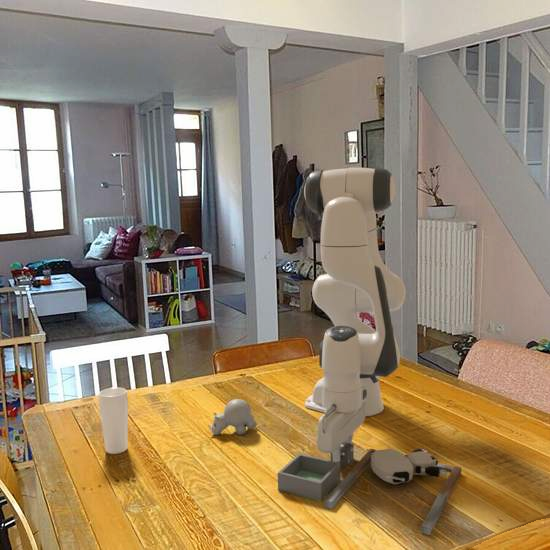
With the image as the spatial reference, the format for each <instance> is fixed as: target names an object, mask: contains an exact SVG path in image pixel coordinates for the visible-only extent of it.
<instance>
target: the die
mask: <svg viewBox="0 0 550 550" xmlns="http://www.w3.org/2000/svg"><path fill="white" fill-rule="evenodd" d="M354 449H355V448H354V443H351V444H350V443H346V442H343V443H342V444H341V448H340V452H342V459H341V460H340V462H339V463H340V467H342V468H348V467H349V466H351V464H352V462H354V459H355V457H354V455H355V454H354V453H355V452H354ZM330 461H333V456H332V454H330ZM334 462H336V461H334Z"/></svg>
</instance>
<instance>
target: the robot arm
mask: <svg viewBox="0 0 550 550" xmlns="http://www.w3.org/2000/svg"><path fill="white" fill-rule="evenodd" d="M303 188H304V189H303V195H304V199H305V202H306V206H307V208H309V210H310V211H311V212H312V213H314V214H316V215H317V217H318V218H320V219H321V227H320V258H321V265H322V268H323V270H324V271H325V273H324V274H320V275H318V277H317V278H316V279H315V280H314V283H313V285H312V289H311V292H312V293H311V295H312V298H313V302H314V303H315V305H316V306H317V307H318V308H319V309H321V310H322V312H324V313H325V314H326V315H327V316H328V318H329V319H330V321H331V322H332V324H333V326H332V327H329V328H327V329H326V330H325V333H324V336H323V339H322V341H321V342H320V343H319V348H318V350H319V352H318V354H319V357H318V360H319V362H318V363H319V364H318V365H319V367H320V368H321V370H322V373H323V377H322V378H320V379H319V380H317V382H316V383H315V385H314V386H313V391H312V392H313V393H312V394H311V395H310V396H308V397H307V399H305V402H304V406H305V408H307V409H310V410H314V411H317V412H320V413H323V415H321V416H320V418H319V420H318V423H317V430H316V434H317V435H316V448H317V450H318V451H319V452H321V453H325V454H330V455H331V454H332V456H333V461H336V462H340V460H341V459H342V452H340V448H341V444H342V443H343V442H346V443H350V444H353V438H354V436H355V435H354V434H355V432H356V430H358V428H360V427H361V426H362V425H363V424H364V421H365V420H366V417H371V416H375V415H378V414H380V413H382V412H383V410H384V409H385V407H384V404H383V403H384V402H383V400H382V395H381V389H380V379H381V377H382V378H383V377H384V378H387V377H388V376H390V375H391V374H393V373H394V372H395V371H397V369H398V368H399V364H400V359H401V355H400V347H399V344H398V342H397V338H396V335H395V332H394V327H393V321H392V313H391V312H396V311H399V309H401V307H402V306H403V305H404V303H405V300H406V295H407V292H406V286H405V283H404V281H403V280H402V279H401V278H400V276H398V275H397V274H396V273H394V272H392V271H391V270H390V269H389V268H388V267H387V265H386V264H385V262H384V261H383V259H382V257H381V254H380V252H379V251H380V250H379V245H378V244H379V243H378V234H377V233H378V230H377V215H376V213H378V212H382V211H383V212H384V211H386V210H387V209H389V208H390V207H391V206H392V203H393V200H394V198H395V195H396V183H395V180H394V177H393V175H392V173H391V171H389V170H388V169H385V168H381V167H375V168H371V167H370V168H369V167H348V168H347V167H346V168H335V169H328V170H324V169H321V170H316V171H312V172H311V173H310V174H309V175H308V176H307V177H306V181H305V184H304V187H303ZM357 313H371V314H372V313H373V317H374V318H373V319H374V323H375V328H374V327H372V326H371V325H369V324H368V323H365V322H363V321H362V320H360V319H359V317H358V315H357ZM375 329H376V330H375Z"/></svg>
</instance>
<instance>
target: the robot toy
mask: <svg viewBox="0 0 550 550" xmlns="http://www.w3.org/2000/svg"><path fill="white" fill-rule="evenodd" d="M375 450H376V451H373V450H370V448H369V449H368V448H367V449H365V451H366V452H368V451H370V452H373V453H372V455H371V463H370V467H371V469H372V472H373V473H374V474H376V476H377V477H379V478H380V479H381V480H382V481H384V482H386V483H389V484H392V485H398V484H402V483H408V482H410V481H411V480H412V479H413V478H414V477H413V476H414V475H415V476H416V475H417V476H421V477H424V476H425V477H426V476H429V477H433V478H439V477H440V476H442V477H446V476H447V475H448V471H446V470H443V469H442V470H440V469H439V467H436V466H437V464H438V463H439V462H438V459H437V458H436V457H435V456H434V455H433V454H431V453H428V451H427V450H426V449H423V448H422V449H421V448H417V449H414V450H413V451H412V452H410V453H408V454H405V455H404V454H403V453H402V452H400V451H399V450H396V449H392V448H389V449H388V448H387V449H386V448H385V449H375Z"/></svg>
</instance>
